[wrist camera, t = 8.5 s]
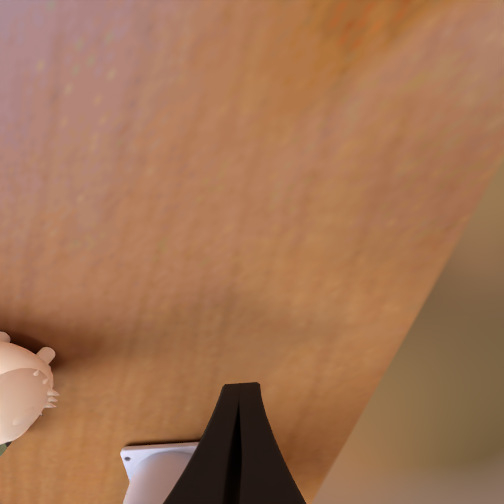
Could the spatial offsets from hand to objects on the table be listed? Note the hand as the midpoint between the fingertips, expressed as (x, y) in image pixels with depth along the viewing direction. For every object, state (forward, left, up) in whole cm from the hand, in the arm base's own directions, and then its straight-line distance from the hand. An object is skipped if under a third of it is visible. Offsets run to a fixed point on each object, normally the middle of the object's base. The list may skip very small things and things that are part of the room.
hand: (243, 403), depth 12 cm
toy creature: (-4, +17, -10) cm, 20 cm away
